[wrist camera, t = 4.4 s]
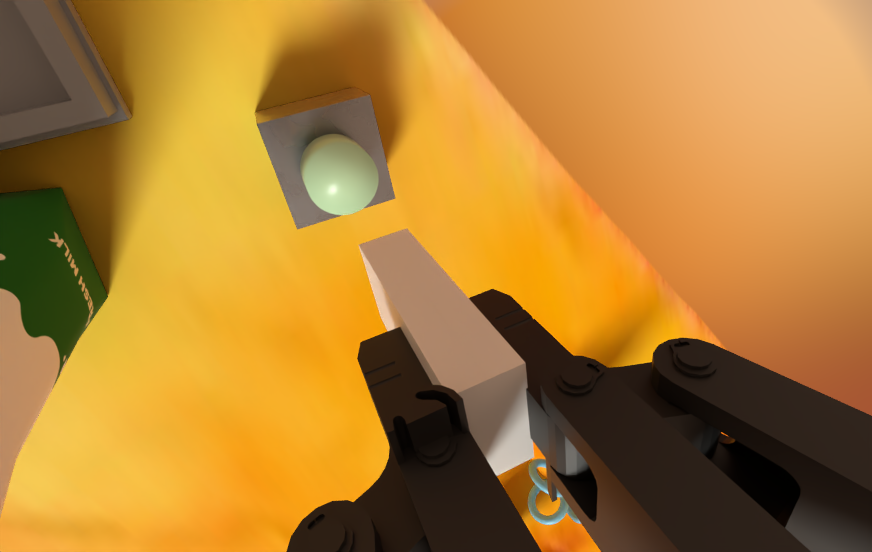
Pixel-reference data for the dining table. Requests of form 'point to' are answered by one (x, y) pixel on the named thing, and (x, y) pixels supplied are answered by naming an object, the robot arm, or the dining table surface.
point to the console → (309, 120)
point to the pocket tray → (51, 74)
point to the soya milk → (38, 308)
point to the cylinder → (540, 484)
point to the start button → (338, 174)
